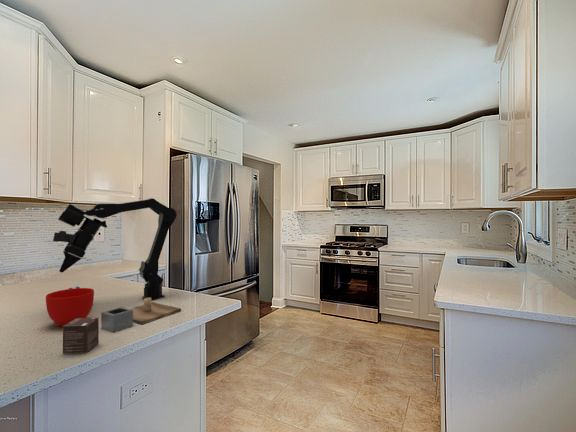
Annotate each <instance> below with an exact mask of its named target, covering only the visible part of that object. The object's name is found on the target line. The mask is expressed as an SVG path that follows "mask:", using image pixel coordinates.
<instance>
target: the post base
mask: <svg viewBox="0 0 576 432" xmlns="http://www.w3.org/2000/svg"><path fill="white" fill-rule="evenodd" d="M130 309H131V310H133V324H134V323H135V324H137V325H142V326H143V325H145V324H148V323H150V322H153V321H156V320H160V319H162V318H163V319H164V318H165V317H169V316H172V315H174V314H176V313H180V312H181V311H182V308H181V307H176V306H173V305H168V304H164V303H162V304H161V303H158V302H152V300H151V298H143V304H142V305H138V306H135V307H132V308H130Z"/></svg>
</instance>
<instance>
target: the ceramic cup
mask: <svg viewBox="0 0 576 432" xmlns="http://www.w3.org/2000/svg"><path fill="white" fill-rule="evenodd" d="M94 296H95V290H94V288H90V287H89V288H88V287H80V288H76V287H74V288H73V289H69V288H67V289H60V290H56V291H53V292H50V293H48V294H46V295H45V307H46V311H47V314H48V316H49V319H51V321H52V322H53V323H55V324H56V325H57V326H58V327H62V328H63V326H64V325H65V324H67V323H69V322H71V321H72V320H74V319H76V318H88V315H90V313H91V311H92V308H93V304H94V299H95V297H94Z"/></svg>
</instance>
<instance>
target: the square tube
mask: <svg viewBox="0 0 576 432" xmlns="http://www.w3.org/2000/svg"><path fill="white" fill-rule="evenodd" d="M100 326H101V328H100V329H102V330H106V331H109V332H111V333H115V332H119V331H122V330H124V329H127V328H130V327H132V326H134V322H133V310H131V308H128V307H122V306H120V307H116V308H113V309H109V310H104V311H102V312H100Z"/></svg>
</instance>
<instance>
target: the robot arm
mask: <svg viewBox="0 0 576 432" xmlns="http://www.w3.org/2000/svg"><path fill="white" fill-rule="evenodd" d="M145 209H150V210H151V211H153V212H154V213H155V214H156V215H158V218H157V220H158V221H157V223H158V227H157V229H156V233H155V236H154V239H153V241H152V243H151V244H152V245H151V248H150V251H149V253H148V257H147V258H146V260H145V261H143V260H141V262H140V267H139V268H138V271H139V273H138V274H139V276H140V278H142V279H143V280H144V282H145V283H144V288H143V296H142V299H144V298H151V301H152V300H157V299H160V298H163V297H165V295H164V294H163V281H164V279H163V277H161V276H160V275H159V260H160V258H161V254H162V250H163V248H164V244H165V242H166V239H167V235H168V231H169V230H170V228H171V226H173V224H174V222H175V220H176V219H177V216H178V214H177V213H178V212H177V211H176V209H174V208H173V207H168V206H166V205H165V204H164V203H162V202H159V201H157V200H156V199H155V198H153V197H152V198H147V199H142V200H134V201H128V202H121V203H107V202H106V203H105V202H101V203H98V204H97V203H96V204H95V205H94V206H93V207H92V208H91V209H87V210H85V211H84V210H82V209H80V208H78V207H76V206H75V205H73V204H68V206H67V207H66V208H65V210H63V212H62V213H61V214H60V216H59V217H58V218H57V220H58V221H60V222H62V223H64V224H66V225H69V226H71V227H75V226H78V227H79V228H78V230H77V231H75V232H74V234H72V233H67V231H66V230H60V231H59V232H55V231H54V235H53V239H52V242H62V243H67V244H66V246H64V247H65V248H64V249H63V255H64V259H63V261H62V263H61V266H60V268H59V272H60V273H64V272H65V271H67V270H68V269H69V268H71V267H72V266H74V265H75V264H76V263H77V262H79V261H81V260H82V259H83V258H84V256H85V255H86V251H87V249H88V246H89V245H90V243H91V242H92V241H93V240H94V238H95V236H96V235H97V233H98V231H99V230H100V228H101V227H102V228H105V229H106V228H108V225H107V220H100V219H106V218H108V217H109V218H110V217H112V216H114V215H117V214H120V213H124V212H130V211H136V210H145ZM89 217H93V219H92V218H89ZM83 220H84V221H83Z"/></svg>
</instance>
